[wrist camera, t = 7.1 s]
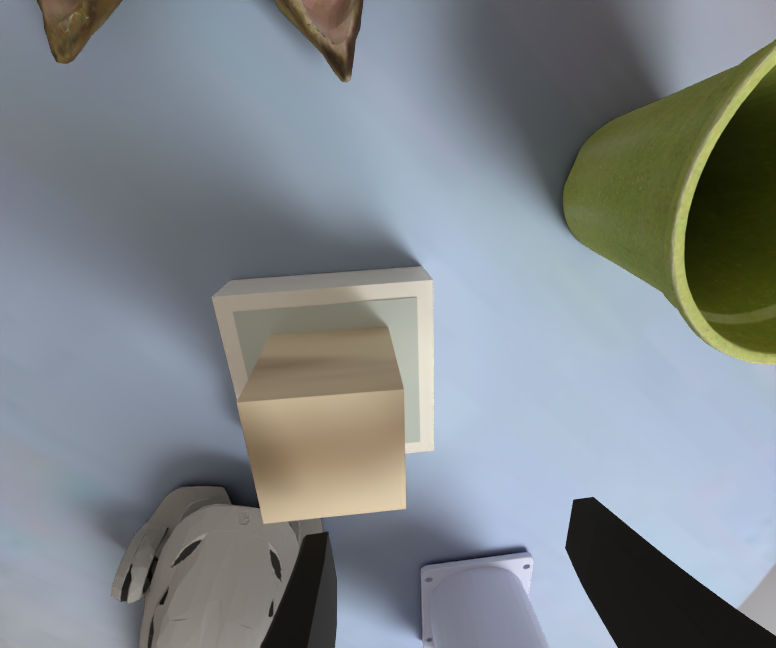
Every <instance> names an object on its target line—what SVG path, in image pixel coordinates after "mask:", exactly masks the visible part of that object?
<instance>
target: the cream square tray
mask: <svg viewBox="0 0 776 648" xmlns="http://www.w3.org/2000/svg"><path fill="white" fill-rule="evenodd" d="M212 301H213V305H214V309H215V314H216V318H217V322H218V326H219V330H220V334H221V338H222V342H223V346H224V350H225V354H226V358H227V362H228V366H229V370H230V374H231V378H232V382H233V386H234V390H235V395H236V399H237V401H238V399H239V397H240V395H241V393H242V391H243V389H244V387H245V385H246V383H247V381H248V378H249V376H250V374H251V372H252V370H253V368H254V366H255V364H256V362H257V360H258V358H259V356H260V354H261V352H262V350H263V348H264V346H265V344H266V342H267V340H268V338H269V336H270V335H271V334H286V333H302V332H317V331H332V330H347V329H362V328H378V327H388V328H389V332H390V335H391V339H392V343H393V347H394V351H395V355H396V359H397V363H398V367H399V371H400V375H401V379H402V383H403V387H404V412H405V454H408V453H417V452H426V451H434V355H433V279H432V278H431V276H430V275H429V274H428V273H427V271H426V270H425V269H424V268H423V266H416V267H402V268H389V269H375V270H362V271H348V272H335V273H321V274H308V275H294V276H281V277H267V278H254V279H240V280H230V281H229V282H228V283H226V284H225V285H224V286H223V287H222V288H221V289H220V290H219V291H217V292H216V293H215V294H214V295H213V296H212Z"/></svg>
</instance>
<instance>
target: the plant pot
mask: <svg viewBox="0 0 776 648" xmlns="http://www.w3.org/2000/svg"><path fill="white" fill-rule="evenodd" d="M563 211H564V215H565V219H566V222H567V225H568V227H569V229H570V230H571V232H572V233H573V235H574V236H575V237H576V238H577V239H578V241H579V242H581V243H582V244H583V245H585V246H586V247H588V248H589V249H591V250H592V251H594V252H596V253H598V254H599V255H601V256H603V257H605V258H606V259H608V260H610V261H612V262H613V263H615V264H617V265H618V266H620V267H622V268H623V269H625V270H627V271H628V272H630V273H632V274H633V275H635V276H637V277H638V278H640V279H641V280H643V281H645V282H646V283H648V284H650V285H651V286H653V287H654V288H656V289H658V290H659V291H661V292H662V293H663V294H664V296H665V297H666V298H667V299H668V301H669V302H670V303H671V304H672V305H673V306H674V307H675V308H677V309H678V310H679V312H680V314H681V316H682V317H683V318H684V320H685V321H686V323H687V324H688V325H689V327H690V328H691V329H692V330H693V332H694V333H695V334H696V335H697V336H699V337H700V338H701V339H702V340H703V341H704V342H705V343H707V344H708V345H710V346H711V347H713V348H715V349H716V350H718V351H720V352H722V353H724V354H726V355H729V356H731V357H734V358H737V359H740V360H743V361H746V362H750V363H758V364H770V365H776V39H775V40H774V41H773V42H772V43H770V44H769V45H767V46H765V47H764V48H762V49H760V50H759V51H757V52H756V53H754V54H753V55H751V56H750V57H748V58H747V59H746V60H744V61H743V62H742V63H741V64H739V65H737V66H735V67H733V68H730V69H728V70H726V71H723V72H721V73H719V74H717V75H714V76H712V77H710V78H708V79H705V80H703V81H701V82H699V83H696V84H694V85H692V86H690V87H687V88H685V89H683V90H681V91H678V92H676V93H674V94H672V95H669V96H667V97H665V98H662V99H660V100H658V101H656V102H653V103H651V104H648V105H646V106H643V107H641V108H638V109H636V110H634V111H631V112H629V113H627V114H624V115H622V116H619V117H617V118H615V119H613V120H611V121H610V122H608V123H606V124H605V125H604V126H602V127H601V128H600V129H599V130H597V131H596V132H595V133H594V134H593V135H592V136H590V137H589V138H588V140H587V141H586V142H585V143H584V144H583V146H582V147H581V149H580V150H579V152H578V155H577V158H576V160H575V163H574V165H573V167H572V169H571V172H570V174H569V176H568V179H567V180H566V182H565V185H564V190H563Z"/></svg>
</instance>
